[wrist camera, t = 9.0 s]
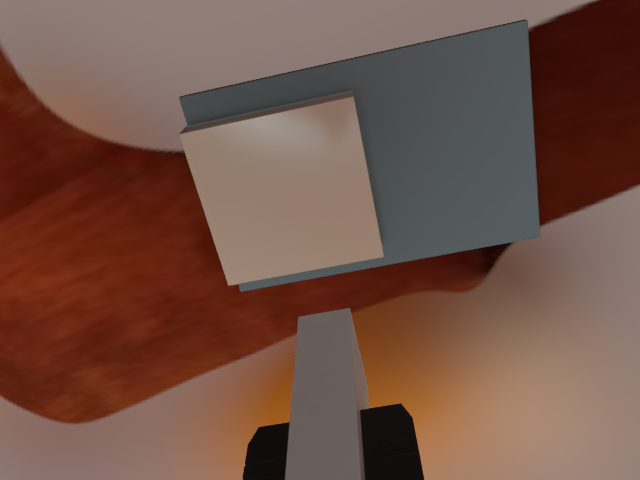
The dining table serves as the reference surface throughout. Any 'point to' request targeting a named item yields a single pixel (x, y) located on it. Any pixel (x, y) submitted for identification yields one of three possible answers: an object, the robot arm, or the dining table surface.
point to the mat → (423, 140)
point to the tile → (285, 188)
